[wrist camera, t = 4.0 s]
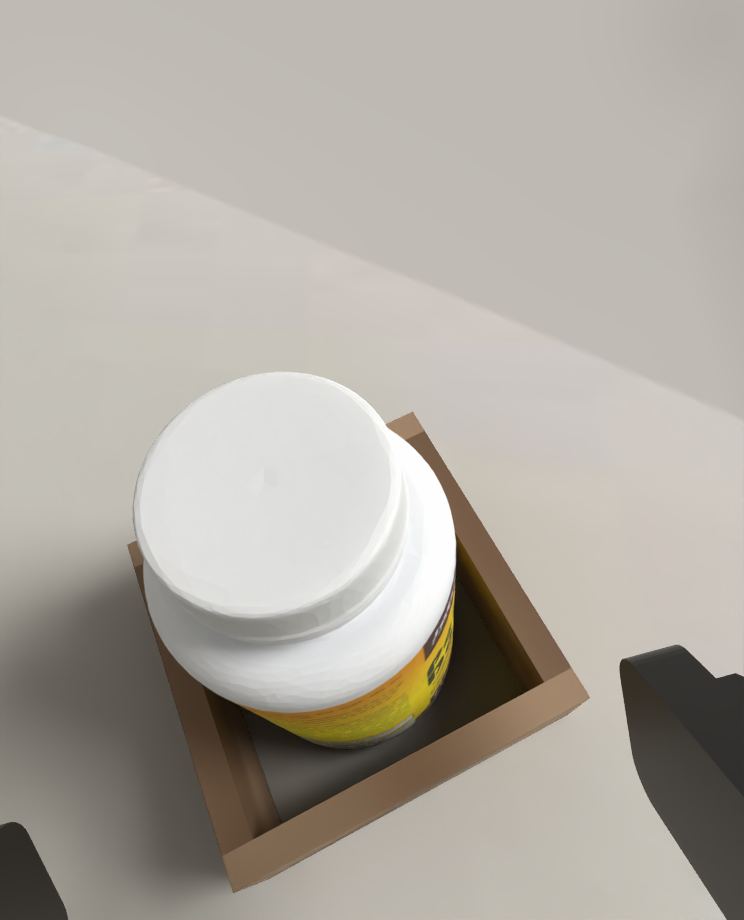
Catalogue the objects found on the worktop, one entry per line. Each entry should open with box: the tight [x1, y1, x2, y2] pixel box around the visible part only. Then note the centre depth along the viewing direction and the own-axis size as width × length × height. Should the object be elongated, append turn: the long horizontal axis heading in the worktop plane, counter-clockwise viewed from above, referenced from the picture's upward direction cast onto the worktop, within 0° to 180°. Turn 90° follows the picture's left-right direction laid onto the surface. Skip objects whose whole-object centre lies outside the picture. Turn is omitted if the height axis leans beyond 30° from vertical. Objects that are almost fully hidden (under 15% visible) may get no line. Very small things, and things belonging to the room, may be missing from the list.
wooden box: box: [127, 412, 590, 893], centre depth 17 cm, size 8×8×3 cm
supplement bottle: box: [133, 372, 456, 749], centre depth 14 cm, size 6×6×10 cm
